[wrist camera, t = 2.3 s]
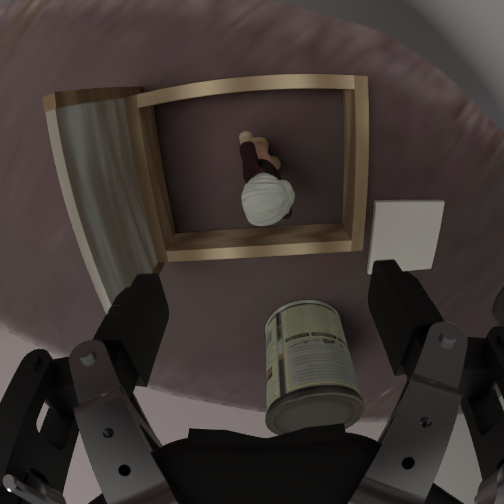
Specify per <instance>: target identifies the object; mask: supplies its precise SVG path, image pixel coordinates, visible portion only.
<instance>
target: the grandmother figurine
mask: <svg viewBox="0 0 504 504" xmlns="http://www.w3.org/2000/svg"><path fill="white" fill-rule="evenodd" d="M239 139H240V154H241V158H242V162H243V177H244V180H245V181H246V183H247V184H246V185H245V186H244V189H243V192H242V194H241V199H242V206H243V210H244V212H245V215H246V217H247V220H248V221H249V222H250V223H251V224H253V225H257V226H266V225H271V224H274V223H276V222H278V221H279V220H281V219H282V218H283V219H288V218H290V217H291V215H292V209H291V205H292V204H293V202H294V198H295V193H294V191H293V189H292V186H291V184H290V183H289V182H288V181H286V180H282V179H281V176H280V173H279V171H278V170H279V168H280V166H281V163H280V161H279V159H278V158H277V157H276V156H270V155H269V154H268V148H269V145H268V141H267V140H266V139H265V138H263V137H255V138H253V136H252V134H251V133H250V132H249V131H244V132H242V133H241V134H240V136H239Z"/></svg>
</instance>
